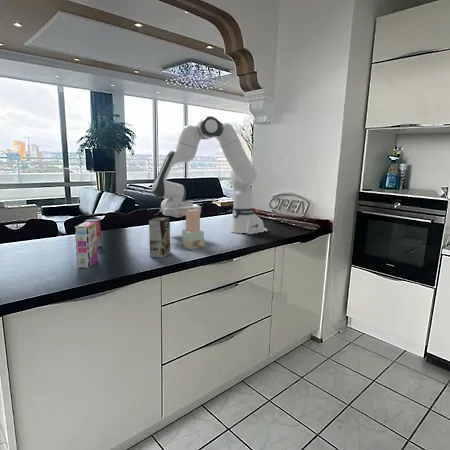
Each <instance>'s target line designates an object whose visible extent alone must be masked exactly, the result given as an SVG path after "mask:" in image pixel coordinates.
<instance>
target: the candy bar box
mask: <svg viewBox="0 0 450 450" xmlns="http://www.w3.org/2000/svg"><path fill="white" fill-rule="evenodd" d="M74 233H75V251H76V252H75V253H76V268H77V269H91V268H92V266H93V265H95V264H96V262H98V261H99V259H98V258H99V256H98V247H97V233H96V222H85V221H84V222H81V223H80V224H77V225H76V226H74Z"/></svg>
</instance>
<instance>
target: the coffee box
mask: <svg viewBox="0 0 450 450" xmlns="http://www.w3.org/2000/svg"><path fill="white" fill-rule="evenodd" d="M148 224H149V225H148V227H149V228H148V229H149V230H148V232H149V233H148V235H149V236H148V237H149V238H148V239H149V257H150V258H151V257H152V258H160V259H162V258H165V257H166V256H168V255H169V254H170V253H171V219H170V217H155V218H152V219H149V220H148Z"/></svg>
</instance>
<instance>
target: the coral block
mask: <svg viewBox="0 0 450 450" xmlns="http://www.w3.org/2000/svg"><path fill="white" fill-rule="evenodd" d="M185 230H187V231H189V232H197V231H200V230H201V213H200V210H196V209H193V210H186V215H185Z"/></svg>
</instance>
